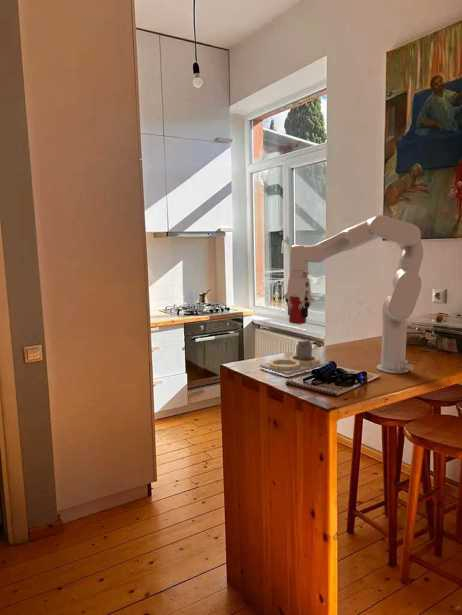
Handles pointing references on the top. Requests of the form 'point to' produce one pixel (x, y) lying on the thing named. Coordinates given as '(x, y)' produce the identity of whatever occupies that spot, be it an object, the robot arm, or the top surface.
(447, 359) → the top surface
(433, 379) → the top surface
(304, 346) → the seated plug
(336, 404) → the top surface
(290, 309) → the soda can
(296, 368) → the octagonal socket board
